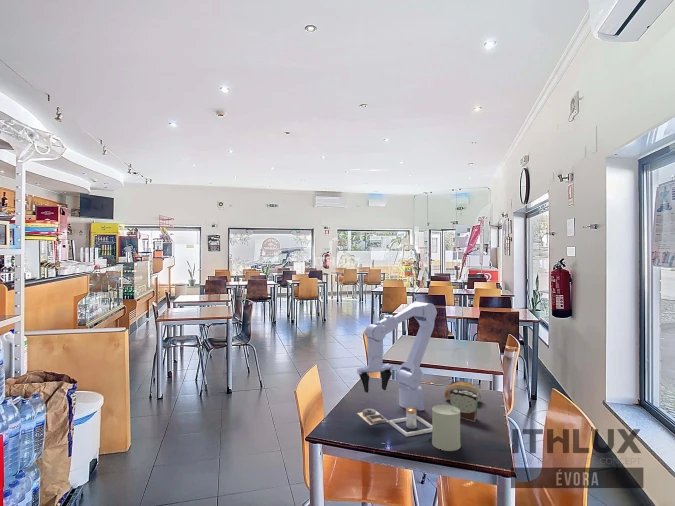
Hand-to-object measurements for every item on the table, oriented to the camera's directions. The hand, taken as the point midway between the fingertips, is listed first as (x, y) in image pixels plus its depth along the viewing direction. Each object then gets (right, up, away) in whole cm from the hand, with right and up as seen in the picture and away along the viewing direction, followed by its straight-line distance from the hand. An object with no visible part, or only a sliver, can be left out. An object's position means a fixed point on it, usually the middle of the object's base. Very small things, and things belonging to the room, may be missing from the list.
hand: (375, 390), depth 158 cm
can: (+21, -10, -24) cm, 34 cm away
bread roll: (+39, -10, +17) cm, 44 cm away
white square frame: (+12, -10, -14) cm, 21 cm away
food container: (+35, -10, 0) cm, 37 cm away
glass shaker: (+12, -9, -14) cm, 20 cm away
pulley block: (-1, -10, -5) cm, 11 cm away
